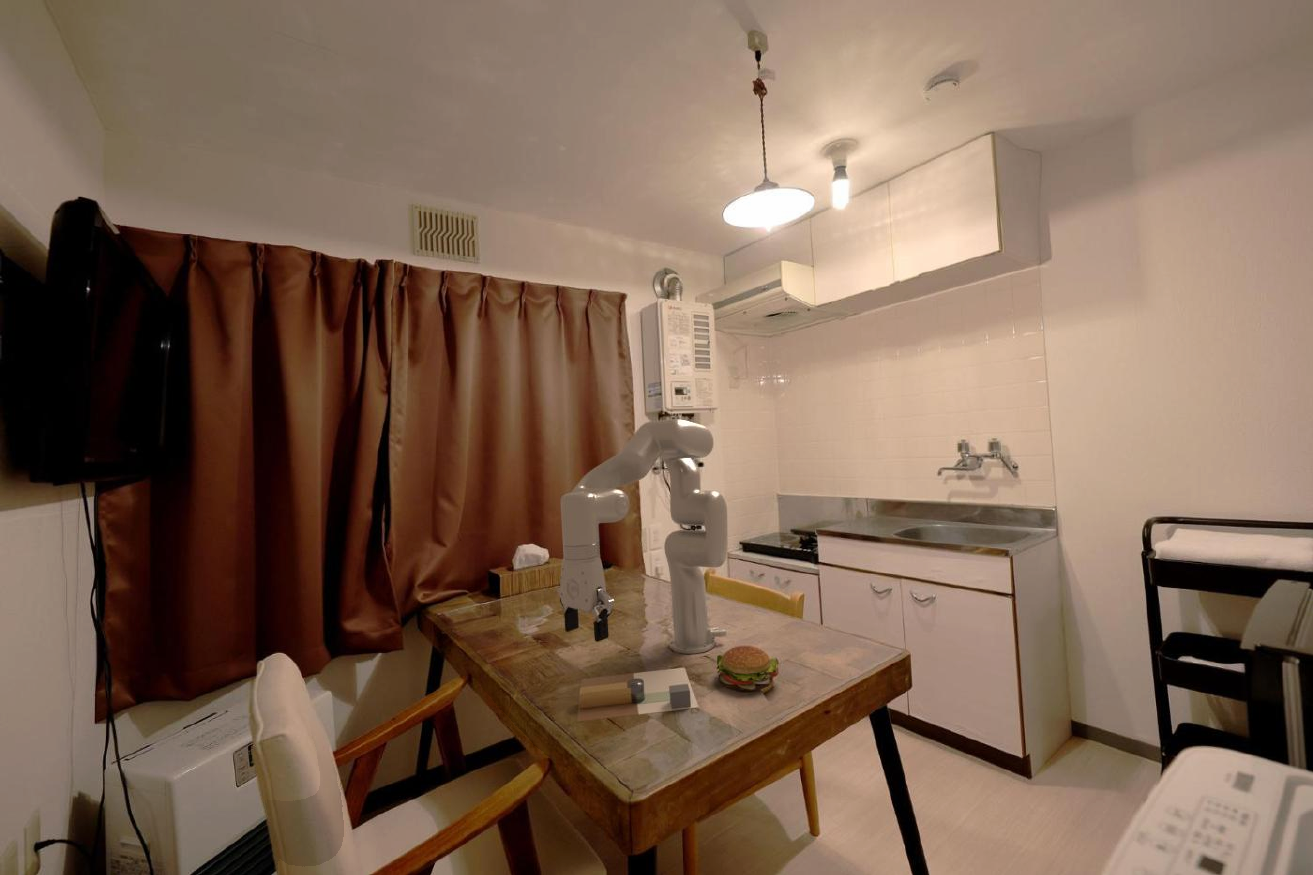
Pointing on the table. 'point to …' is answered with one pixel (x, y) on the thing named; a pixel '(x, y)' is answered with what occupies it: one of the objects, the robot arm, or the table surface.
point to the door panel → (660, 694)
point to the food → (747, 669)
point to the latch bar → (612, 694)
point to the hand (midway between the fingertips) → (586, 634)
